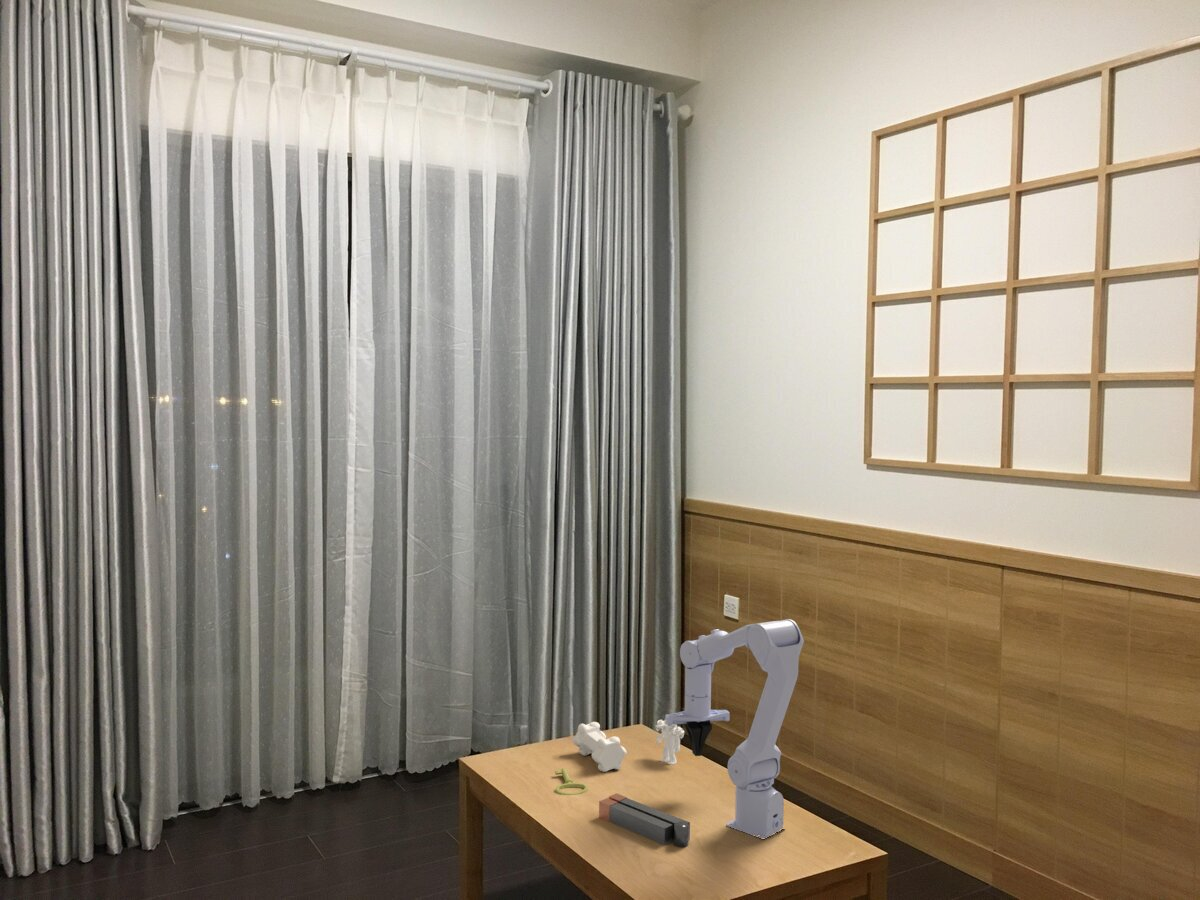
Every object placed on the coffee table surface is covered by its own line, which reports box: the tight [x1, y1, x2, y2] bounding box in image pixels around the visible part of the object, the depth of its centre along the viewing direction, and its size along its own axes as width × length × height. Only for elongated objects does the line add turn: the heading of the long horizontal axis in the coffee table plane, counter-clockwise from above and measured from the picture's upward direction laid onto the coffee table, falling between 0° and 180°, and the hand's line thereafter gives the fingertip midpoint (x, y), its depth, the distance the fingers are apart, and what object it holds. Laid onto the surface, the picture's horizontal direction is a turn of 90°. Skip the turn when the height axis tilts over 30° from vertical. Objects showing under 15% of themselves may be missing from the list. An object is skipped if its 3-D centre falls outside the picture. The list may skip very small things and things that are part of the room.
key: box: [554, 768, 589, 796], centre depth 219 cm, size 7×12×2 cm, turn 32°
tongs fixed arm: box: [598, 797, 673, 846], centre depth 197 cm, size 18×2×4 cm, turn 46°
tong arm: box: [608, 792, 691, 848], centre depth 197 cm, size 21×4×4 cm, turn 46°
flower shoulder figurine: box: [654, 719, 685, 766], centre depth 235 cm, size 9×4×12 cm, turn 38°
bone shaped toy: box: [571, 721, 628, 773], centre depth 234 cm, size 15×9×8 cm, turn 25°
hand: (697, 754), depth 214 cm, fingers closed
